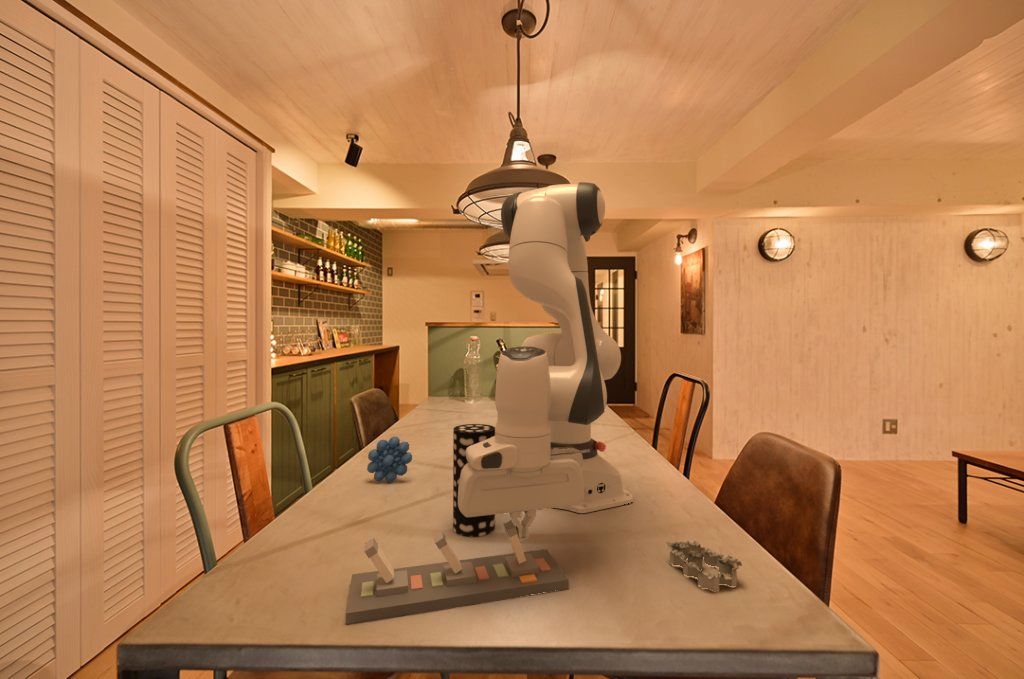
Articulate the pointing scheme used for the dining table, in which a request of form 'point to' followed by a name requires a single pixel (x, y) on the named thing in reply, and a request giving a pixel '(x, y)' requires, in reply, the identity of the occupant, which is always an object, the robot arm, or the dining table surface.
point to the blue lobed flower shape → (389, 459)
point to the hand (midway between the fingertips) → (521, 536)
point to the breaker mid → (447, 551)
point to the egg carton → (695, 560)
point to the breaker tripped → (514, 541)
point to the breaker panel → (452, 585)
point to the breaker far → (379, 560)
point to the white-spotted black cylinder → (461, 442)
